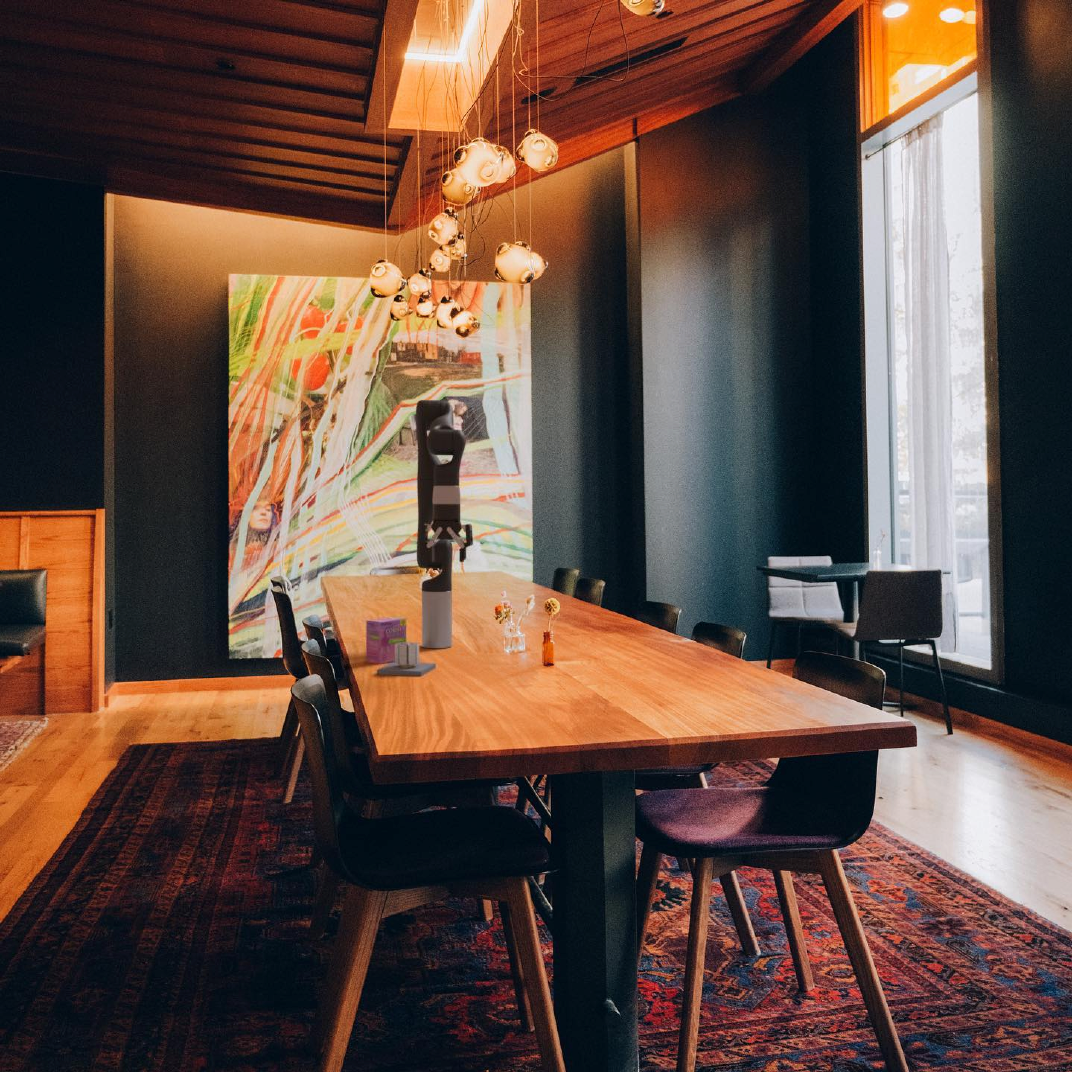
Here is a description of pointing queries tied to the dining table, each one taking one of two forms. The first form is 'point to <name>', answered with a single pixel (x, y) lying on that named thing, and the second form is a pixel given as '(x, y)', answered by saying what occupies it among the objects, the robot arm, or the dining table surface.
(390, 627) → the box
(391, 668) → the shaft stand
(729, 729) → the dining table surface
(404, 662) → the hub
